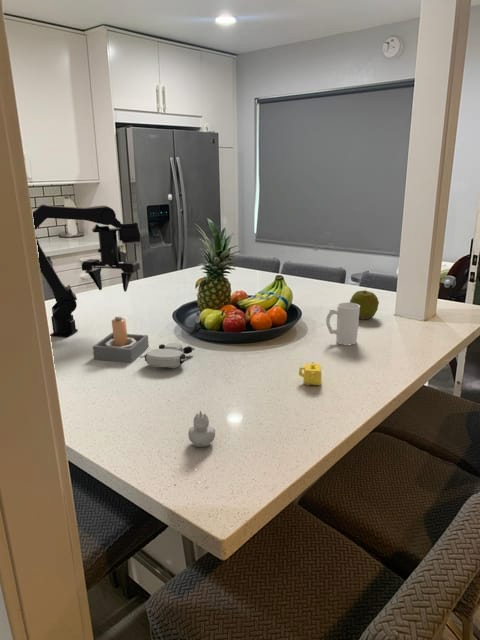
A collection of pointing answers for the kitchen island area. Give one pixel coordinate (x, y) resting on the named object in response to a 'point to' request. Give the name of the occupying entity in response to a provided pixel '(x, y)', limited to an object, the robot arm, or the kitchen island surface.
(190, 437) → the grey potted plant
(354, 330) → the mug
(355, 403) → the kitchen island surface
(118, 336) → the orange cylinder
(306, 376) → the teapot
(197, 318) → the caliper
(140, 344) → the housing
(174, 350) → the robot toy
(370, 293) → the apple
